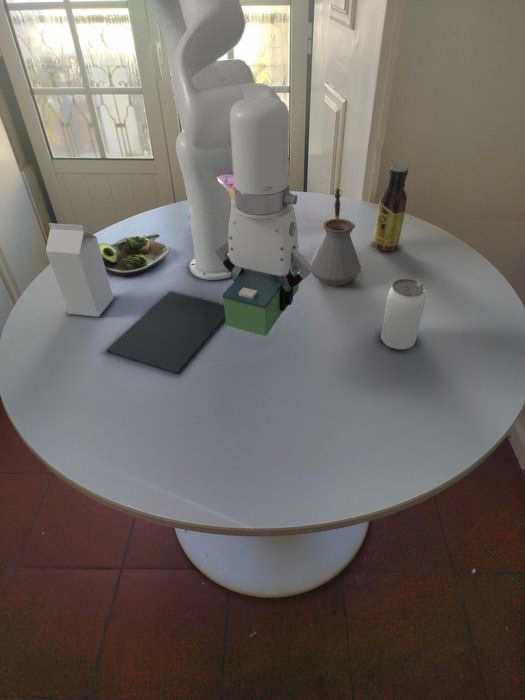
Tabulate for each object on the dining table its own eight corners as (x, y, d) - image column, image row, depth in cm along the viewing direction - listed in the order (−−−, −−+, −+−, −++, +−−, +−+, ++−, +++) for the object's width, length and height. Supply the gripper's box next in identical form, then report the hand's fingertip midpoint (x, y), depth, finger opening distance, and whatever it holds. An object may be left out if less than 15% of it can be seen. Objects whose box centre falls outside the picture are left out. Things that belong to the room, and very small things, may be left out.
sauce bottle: (370, 241, 121) (380, 162, 108) (393, 240, 121) (407, 161, 108) (376, 254, 116) (388, 173, 103) (401, 252, 116) (416, 171, 103)
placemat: (170, 293, 105) (170, 291, 104) (233, 309, 99) (233, 307, 99) (106, 352, 90) (106, 350, 89) (177, 374, 84) (176, 372, 84)
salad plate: (138, 232, 128) (135, 216, 125) (186, 249, 120) (184, 233, 117) (81, 262, 116) (75, 245, 113) (130, 283, 108) (125, 266, 105)
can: (416, 333, 91) (429, 280, 84) (413, 353, 87) (426, 300, 79) (383, 327, 93) (392, 275, 85) (378, 347, 88) (387, 293, 81)
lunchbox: (225, 325, 75) (262, 280, 84) (266, 337, 72) (299, 289, 82) (221, 291, 70) (261, 248, 80) (265, 302, 68) (300, 256, 78)
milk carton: (99, 317, 98) (73, 234, 86) (68, 314, 99) (38, 231, 87) (114, 298, 104) (91, 217, 91) (84, 296, 105) (58, 215, 93)
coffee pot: (360, 291, 103) (368, 228, 93) (308, 289, 104) (311, 226, 95) (356, 245, 119) (362, 187, 110) (311, 244, 120) (313, 186, 111)
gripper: (328, 196, 66) (320, 300, 77) (219, 179, 71) (227, 278, 83) (310, 219, 60) (304, 326, 72) (194, 198, 66) (206, 301, 78)
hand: (263, 300), depth 77 cm, fingers closed on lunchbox, 7 cm apart
